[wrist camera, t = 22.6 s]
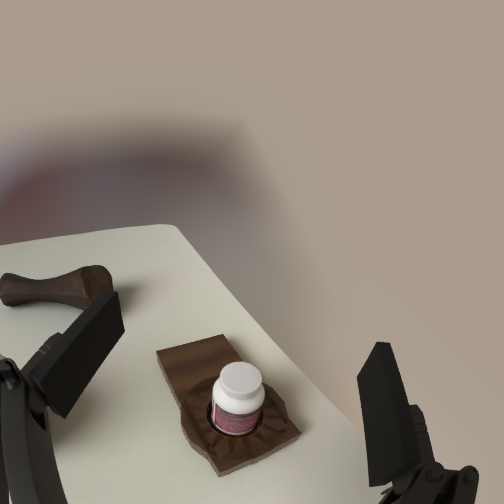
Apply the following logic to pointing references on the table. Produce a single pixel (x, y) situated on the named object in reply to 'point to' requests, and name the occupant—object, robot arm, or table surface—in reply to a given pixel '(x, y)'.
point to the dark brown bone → (57, 287)
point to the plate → (200, 402)
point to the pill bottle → (237, 400)
